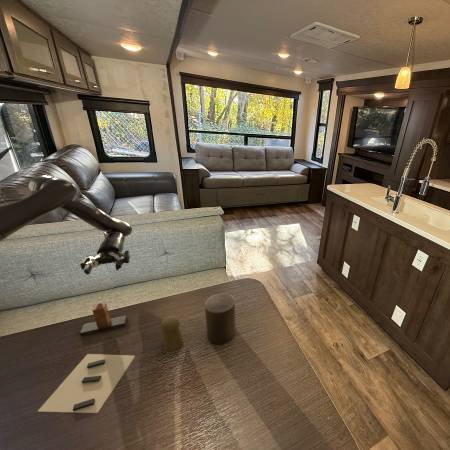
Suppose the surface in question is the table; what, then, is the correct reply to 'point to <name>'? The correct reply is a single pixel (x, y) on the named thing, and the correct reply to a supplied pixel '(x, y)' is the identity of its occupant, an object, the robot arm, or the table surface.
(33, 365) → the table surface
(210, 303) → the pillar candle
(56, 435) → the table surface
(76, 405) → the mark
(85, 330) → the wooden handled grey block
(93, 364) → the mark
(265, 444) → the table surface
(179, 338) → the cork
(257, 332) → the table surface
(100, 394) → the memo board
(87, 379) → the mark
